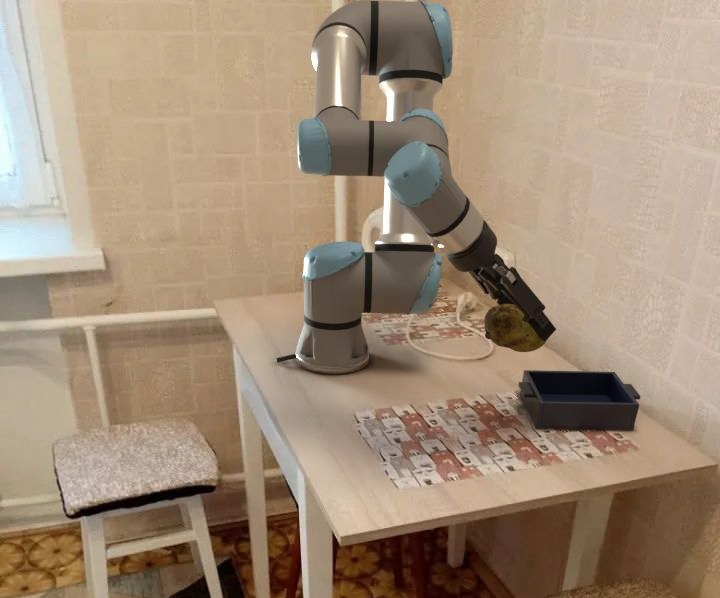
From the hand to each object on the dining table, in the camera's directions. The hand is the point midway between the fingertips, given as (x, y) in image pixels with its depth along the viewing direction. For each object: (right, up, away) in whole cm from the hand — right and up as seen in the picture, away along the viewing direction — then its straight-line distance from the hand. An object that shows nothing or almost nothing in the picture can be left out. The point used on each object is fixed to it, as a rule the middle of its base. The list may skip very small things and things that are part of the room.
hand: (535, 326), depth 124 cm
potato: (-3, -4, 0) cm, 5 cm away
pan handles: (+10, -10, +10) cm, 18 cm away
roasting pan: (+10, -13, +13) cm, 21 cm away
